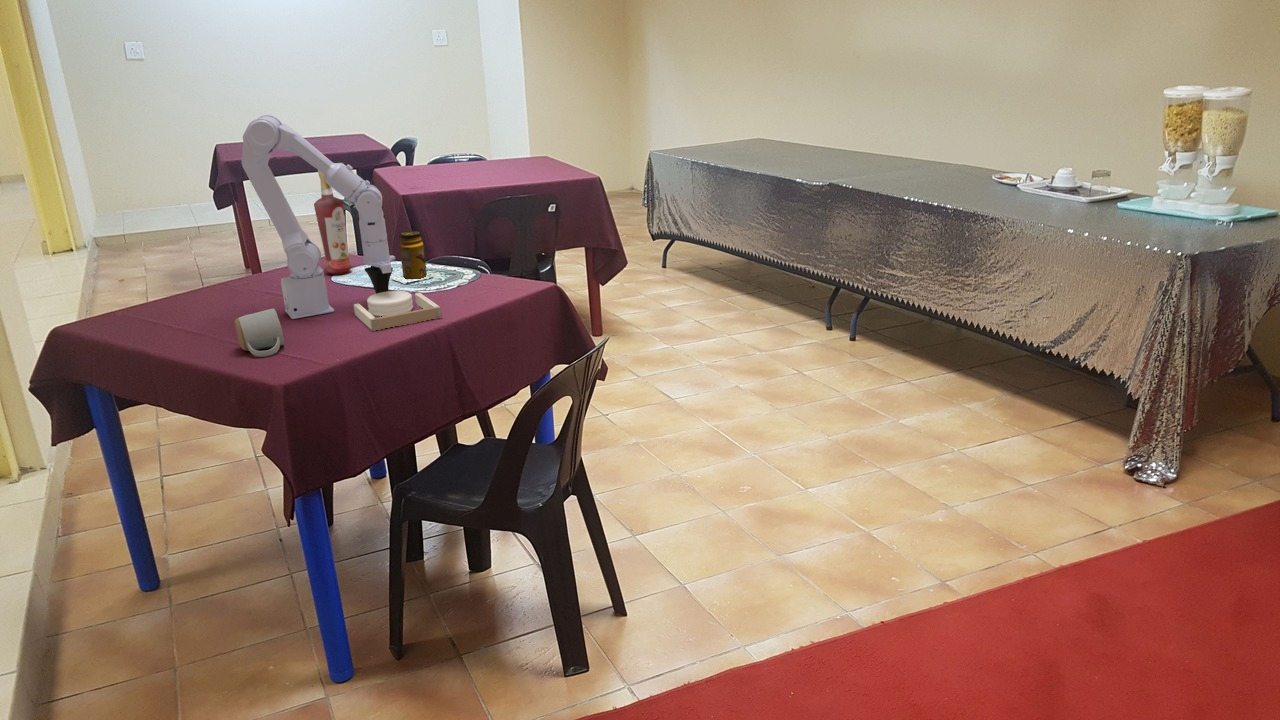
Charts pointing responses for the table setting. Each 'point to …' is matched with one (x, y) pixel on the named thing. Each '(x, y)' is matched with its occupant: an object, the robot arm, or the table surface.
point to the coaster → (390, 303)
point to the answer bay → (400, 315)
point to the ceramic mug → (260, 332)
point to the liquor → (332, 230)
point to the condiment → (412, 255)
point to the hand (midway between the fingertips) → (382, 296)
